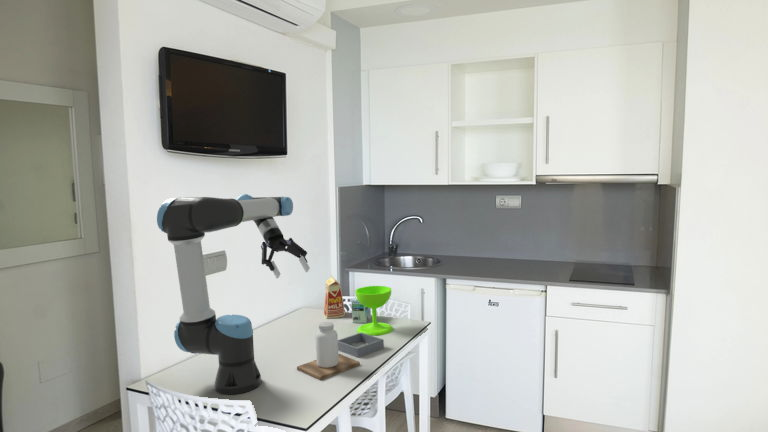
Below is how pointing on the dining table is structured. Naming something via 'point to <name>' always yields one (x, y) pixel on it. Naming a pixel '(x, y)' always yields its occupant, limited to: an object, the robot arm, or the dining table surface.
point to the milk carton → (333, 300)
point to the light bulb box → (360, 312)
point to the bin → (371, 346)
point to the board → (323, 373)
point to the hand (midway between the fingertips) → (293, 273)
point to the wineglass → (374, 308)
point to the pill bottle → (326, 345)
